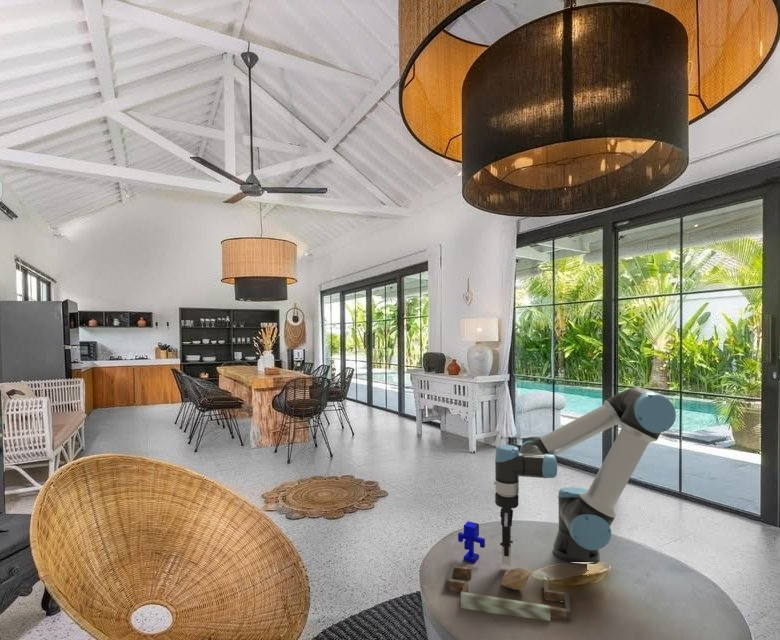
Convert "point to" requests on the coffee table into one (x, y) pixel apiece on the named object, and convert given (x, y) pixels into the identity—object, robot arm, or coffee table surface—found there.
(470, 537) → the figurine
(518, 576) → the pottery oil lamp
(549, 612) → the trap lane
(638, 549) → the coffee table surface
